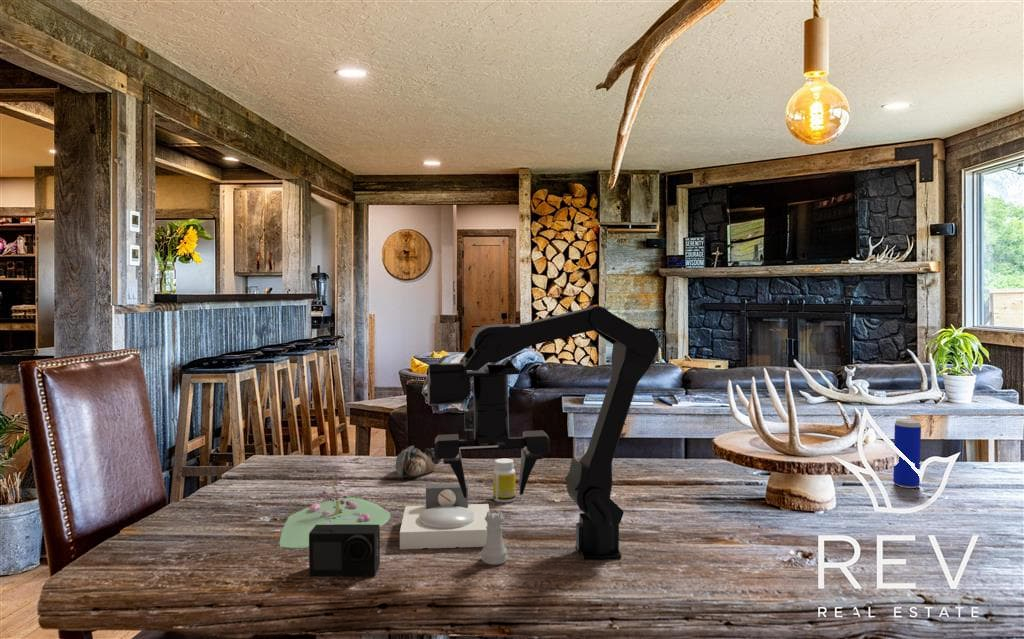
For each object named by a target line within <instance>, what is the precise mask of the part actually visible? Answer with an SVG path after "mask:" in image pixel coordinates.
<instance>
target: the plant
mask: <svg viewBox="0 0 1024 639" xmlns="http://www.w3.org/2000/svg"><path fill="white" fill-rule="evenodd" d="M333 476H334V477H337V476H338V474H337V473H336V474H333ZM336 481H337V482H336ZM341 481H342V480H341V479H339V478H333V482H332V484H331V485H330V487H331V489H332V490H334V492H331V493H330V494H329V493H328V492H326V491H325V490H323V491H322V493H319V494H318V497H326V498H329V497H330V498H329V500H328V501H325V502H321V503H313V504H312V505H311V504H310V506H308V507H305V508H303V509H301V510H299V511H297V512H295V513H292V514H291V515H288V518H287V519H286V521H285V524H284V526H283V527H282V530H281V534H280V539H279V544H280V548H283V549H304V548H309V533H310V532H311V530H312V529H313V528H314V527H315V525H334V524H369V525H379V526H380V527H382V526H383V525H385V524H387V522H389V520H390V519H391V512H390V511H387V510H386V509H385V508H383V507H382V506H380V505H379V504H376V503H374V502H371V501H368V500H366V499H362V498H358V497H349V496H348V495H343V496H342V497H339V495H340V493H341V492H343V490H344V489H343V488H341V489H337V487H336V486H337V485H342V484H343V483H342V482H341ZM338 491H339V492H340V493H339V492H338ZM334 494H335V495H334Z"/></svg>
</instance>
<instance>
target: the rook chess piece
mask: <svg viewBox="0 0 1024 639" xmlns="http://www.w3.org/2000/svg"><path fill="white" fill-rule="evenodd" d="M485 520H486V522H487V527H486V529H487V539H486V544H485V545H484V547H482V550H481V554H482V555H481V557H480V560H482V562H483V563H484V564H486V565H491V566H499V565H502V564H504V563H506V562H507V560H508V558H509V557H508V555H507V554H508V549H507V547H506V545H505V543H504V539H503V531H502V530H503V525H502V523H503V522H504V521H505V517H504V516H503V511H500V510H496V511H495V510H491V511H490V510H489V511H488V512H487V516H486V517H485Z"/></svg>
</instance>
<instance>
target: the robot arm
mask: <svg viewBox="0 0 1024 639" xmlns="http://www.w3.org/2000/svg"><path fill="white" fill-rule="evenodd" d="M592 331H593V332H594V333H596V334H598V335H599V336H600V337H601V338H603V339H604V340H606V342H609V343H611V345H612V349H611V350H612V351H611V356H610V357H611V376H610V379H609V382H608V386H607V389H606V392H605V395H604V398H603V401H602V405H601V407H600V411H599V413H598V416H597V420H596V422H595V426H594V428H593V432H592V434H591V438H590V441H589V444H588V447H587V450H586V452H585V453H584V455H583V456H582V457H581V458H580V459H579V460H578V459H576V458H573V457H572V458H571V461H570V465H569V471H568V473H567V475H566V476H565V477H564V480H565V481H566V491H567V493H568V495H569V497H570V499H571V500H572V501H573V502H574V503H575V505H577V507H578V509H579V510H581V511H582V512H581V513H579V521H578V522H576V524H575V546H576V548H577V550H578V552H580V554H581V556H582V558H583V559H585V560H589V559H590V560H594V559H619V558H622V555H623V554H622V553H621V551H620V524H621V521H622V518H623V517H624V516H623V515H624V513H625V512H624V510H623V509H622V508H621V507H620V506H619V505H618V504H616V503H615V502H614V500H613V499H612V498H611V493H612V488H613V487H612V486H613V460H614V456H615V453H616V450H617V448H618V445H619V442H620V439H621V435H622V432H623V430H624V427H625V426H624V425H625V424H626V423H625V422H626V420H627V417H628V413H629V410H630V408H631V405H632V402H633V398H634V395H635V394H636V393H635V392H636V388H637V386H638V384H639V381H640V380H642V378H643V377H644V376H645V375H646V373H648V371H649V369H650V368H651V366H652V364H653V363H654V360H655V358H656V357H657V354H658V352H659V349H660V341H659V339H658V337H657V335H656V334H655V333H654V332H653V331H652V330H650V329H648V328H643V327H638V326H635V325H633V324H631V323H629V322H628V321H626V320H624V319H622V318H621V317H620V316H617V315H615V314H614V313H612V312H611V311H609V310H608V309H607V308H606V307H605V306H602V305H601V306H600V305H588V306H587V307H585V308H582V309H577V310H574V311H568V312H565V313H560V314H557V315H553V316H552V315H551V316H548V317H544V318H540V319H536V320H532V321H527V322H524V323H523V322H522V323H505V324H504V323H503V324H501V323H499V324H487V325H485V324H483V325H481V326H479V327H477V328H476V329H474V331H473V333H472V335H471V336H470V340H469V341H470V342H469V343H470V346H469V348H468V349H467V350H466V352H465V354H464V355H463V356H462V357H461V359H460V361H459V362H454V363H453V362H451V363H449V362H447V363H438V362H429V363H428V378H427V379H428V381H427V382H426V386H427V387H426V388H427V389H426V390H427V402H428V406H445V405H446V406H447V405H463V404H464V403H465V400H468V398H470V397H471V377H472V389H473V391H472V392H473V396H472V397H473V411H472V410H471V411H469V410H468V411H464V412H463V414H464V416H463V418H464V419H463V420H464V423H463V424H464V431H465V432H470V431H472V432H473V438H469V439H460V437H459V433H454V434H453V433H452V434H450V433H449V434H437V436H436V437H435V438H434V449H435V459H441V460H442V463H443V464H444V465H450V467H451V469H452V471H453V474H455V477H456V479H457V482H458V483H459V485H460V487H461V490H462V493H463V496H464V498H467V490H466V484H467V483H466V479H465V471H464V465H463V459H462V452H472V451H474V452H475V451H493V450H494V451H495V450H515V449H516V450H517V449H520V450H521V451H520V454H521V455H520V467H519V468H520V471H519V481H518V490H519V491H518V492H519V495H520V496H522V495H524V491H525V488H526V485H527V483H528V480H529V477H530V475H531V473H532V470H533V468H534V466H535V465H536V463H537V461H538V460H542V459H544V458H543V457H544V456H543V455H549V454H551V452H552V451H551V439H550V437H549V436H548V434H547V433H546V432H545V430H543V429H542V430H524V431H523V432H522V436H512V437H511V436H510V422H509V421H510V420H509V417H510V416H509V412H510V411H509V410H510V409H509V375H511V376H512V375H519V374H521V373H520V372H521V371H520V369H519V368H518V367H516V366H515V365H514V364H513V362H512V360H510V359H508V358H509V357H512V356H514V355H517V354H518V353H520V352H522V351H523V350H525V349H527V348H530V347H531V346H536V345H539V344H544V343H547V342H551V341H555V340H560V339H563V338H567V337H572V336H576V335H580V334H584V333H587V332H592ZM502 360H504V362H503V363H498V362H500V361H502ZM488 363H491V364H488ZM493 363H495V364H493ZM496 363H497V364H496ZM484 366H485V367H484ZM483 367H484V369H482V368H483ZM480 369H481V370H480Z"/></svg>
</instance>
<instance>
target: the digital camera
mask: <svg viewBox="0 0 1024 639" xmlns="http://www.w3.org/2000/svg"><path fill="white" fill-rule="evenodd" d="M380 529H381V526H379V525H369V524H334V525H315V527H314V528H313V529H312V530H311V532H310V533H309V547H308V550H309V551H308V560H309V561H308V562H309V564H308V565H309V568H308V569H309V577H375V576H376V574H377V572H378V570H379V567H380V566H381V562H380V561H381V560H380V559H381V558H380V556H381V555H380V554H381V553H380V552H381V549H380V548H381V546H380V544H381V543H380V542H381V541H380V540H381V538H380V535H381V534H380V532H381V530H380ZM379 565H380V566H379Z"/></svg>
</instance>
